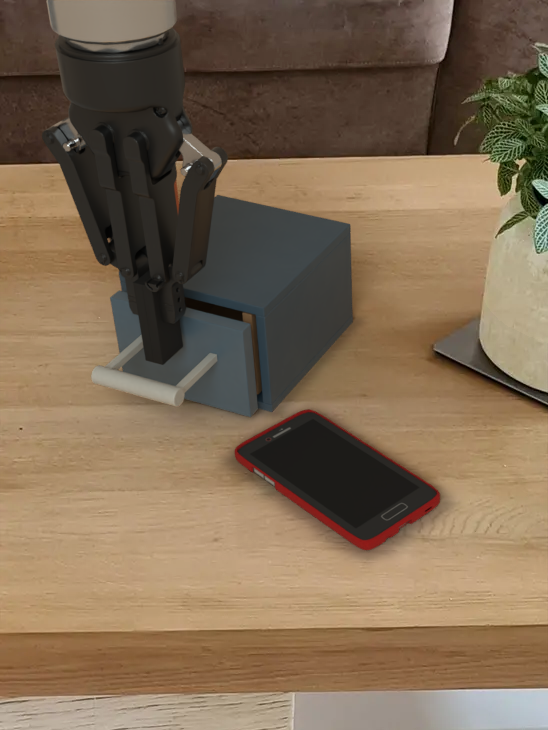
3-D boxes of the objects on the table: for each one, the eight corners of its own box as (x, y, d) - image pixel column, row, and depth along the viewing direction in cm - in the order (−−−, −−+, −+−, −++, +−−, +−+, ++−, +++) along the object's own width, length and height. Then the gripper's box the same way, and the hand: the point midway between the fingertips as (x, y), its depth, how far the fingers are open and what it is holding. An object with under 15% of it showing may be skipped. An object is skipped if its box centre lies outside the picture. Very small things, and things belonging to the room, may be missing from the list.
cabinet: (272, 413, 91) (263, 308, 85) (135, 375, 95) (118, 271, 89) (353, 322, 102) (350, 223, 96) (227, 291, 106) (217, 194, 100)
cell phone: (366, 556, 79) (366, 546, 78) (229, 459, 86) (228, 448, 86) (445, 503, 83) (445, 493, 83) (308, 415, 91) (308, 405, 90)
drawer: (208, 464, 85) (196, 375, 80) (76, 425, 88) (58, 338, 83) (329, 331, 99) (326, 249, 94) (213, 302, 102) (204, 221, 98)
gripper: (240, 28, 72) (267, 347, 87) (65, -2, 76) (119, 310, 91) (174, 67, 67) (214, 401, 81) (-11, 33, 70) (59, 359, 85)
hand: (164, 353), depth 86 cm, fingers closed
